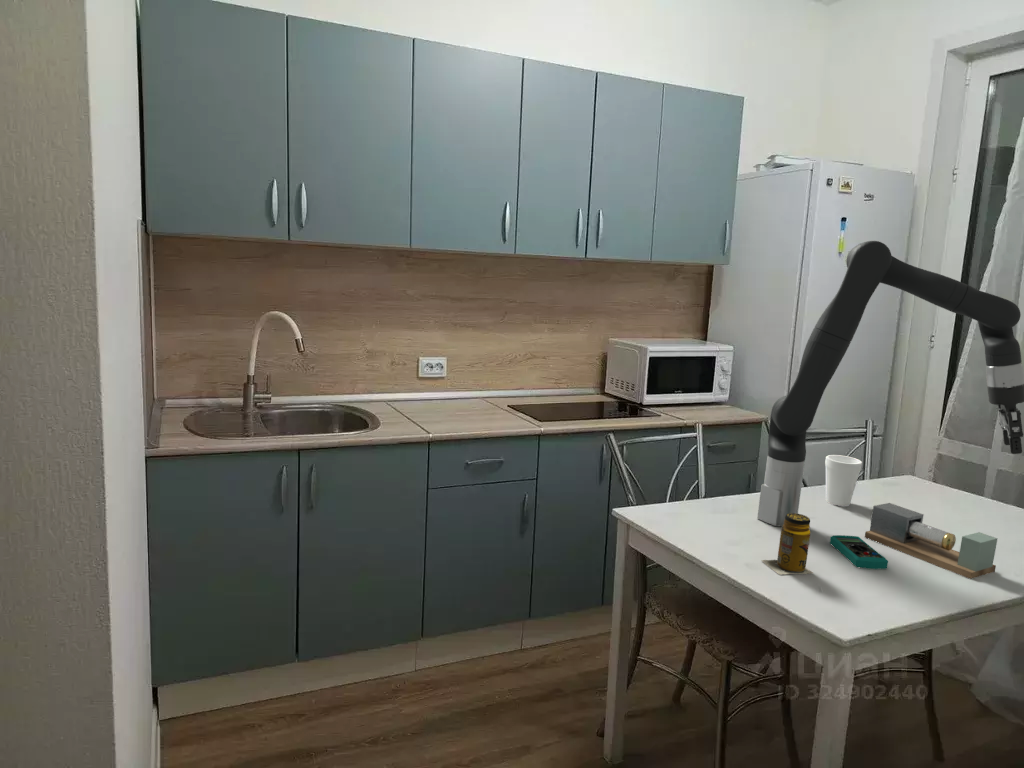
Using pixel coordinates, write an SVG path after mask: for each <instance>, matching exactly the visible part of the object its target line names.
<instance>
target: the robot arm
mask: <svg viewBox="0 0 1024 768" xmlns="http://www.w3.org/2000/svg"><path fill="white" fill-rule="evenodd" d="M845 261H846V262H845V264H846V267H847V269H846V271H845V274H844V277H843V279H842V282H841V284H840V285H839V286H840V287H839V288H838V290H837V292H836V294H835V296H833V298H832V299H831V301H830V302H829V304H828V305H827V306H826V308H825V309H824V311H822V314H821V315H820V317H819V318H818V320H817V322H816V324H815V325H814V328H813V329H812V331H811V333H810V334H809V337H808V340H807V342H806V343H805V347H804V351H803V354H802V358H801V361H800V366H799V368H798V374H797V375H796V378H795V381H794V383H793V385H792V387H791V388H790V390H789V392H788V393H787V395H783V396H781V397H779V398H778V399H777V400H776V401H775V402H774V404H773V406H772V407H771V411H770V419H769V428H768V438H767V448H768V449H767V458H766V465H765V473H764V482H763V483H762V484H761V486H760V494H759V502H758V510H757V518H756V519H758V520H761V522H764V523H767V524H770V525H772V526H774V527H782V526H783V525H784V520H785V516H786V514H788V513H797V514H799V508H800V500H801V494H802V493H801V491H802V487H803V478H804V472H805V463H806V462H805V461H806V455H807V446H806V444H807V443H806V437H807V431H808V430H809V428H811V426H812V424H813V421H814V419H815V415H816V413H817V410H818V407H819V404H820V402H821V399H822V398H823V397H822V396H823V395H824V392H825V390H826V388H827V387H828V385H829V383H830V382H831V379H832V378H833V376H834V375H835V373H836V371H837V370H838V368H839V366H840V364H841V362H842V360H843V358H844V357H845V355H846V353H847V351H848V349H849V347H850V344H851V343H852V341H853V338H854V336H855V334H856V332H857V329H858V327H859V325H860V323H861V320H862V318H863V315H864V313H865V309H866V307H867V305H868V303H869V301H870V300H871V297H872V296H873V295H874V292H875V291H876V290H877V287H878V286H879V285H880V284H883V285H887V286H890V287H892V288H896V289H899V290H902V291H904V292H906V293H909V294H911V295H913V296H915V297H916V298H920V299H921V300H924V301H925V302H928V303H930V304H932V305H935V306H937V307H939V308H942V309H943V310H946V311H949V312H951V313H953V314H957V315H960V316H964V317H965V316H966V317H968V318H970V319H972V320H974V321H976V322H977V324H978V329H979V333H980V337H981V340H982V343H983V347H984V357H985V358H984V359H985V365H986V366H985V368H986V369H985V372H986V373H985V377H986V386H987V395H988V402H989V404H992V405H997V414H998V421H999V423H998V425H1000V429H1001V430H1002V437H1003V444H1004V445H1005V446H1009V450H1010V453H1011V454H1013V455H1016V454H1017V455H1019V454H1022V453H1023V447H1022V446H1023V444H1022V438H1023V437H1024V432H1023V425H1022V417H1021V416H1022V413H1021V410H1019V409H1018V407H1017V405H1018V404H1023V403H1024V367H1023V363H1022V354H1021V346H1020V343H1019V341H1018V340H1017V339H1016V338H1015V334H1014V330H1013V329H1014V327H1015V326H1016V325H1017V324H1018V323H1019V322H1020V319H1021V315H1022V314H1021V310H1020V307H1019V306H1018V305H1017V304H1015V302H1013V301H1011V300H1009V299H1006V298H1003V297H1001V296H998V295H996V294H992V293H988V292H986V291H982V290H980V289H977V288H975V287H973V286H971V285H969V284H966V283H964V282H962V281H959V280H956V279H954V278H952V277H949V276H945V275H943V274H939V273H937V272H935V271H934V272H933V271H930V270H927V269H923V268H921V267H920V268H919V267H917V266H914V265H911V264H909V263H907V262H905V261H902V260H901V259H898V258H896V257H895V256H893V255H892V252H891V250H890V248H889V247H888V246H887V245H886V244H885V243H883V242H882V241H878V240H868V241H864V242H861V243H858V244H856V245H855V246H854V247H853V248H851V249H850V250H849V252H848V254H847V256H846V260H845ZM1016 430H1017V431H1016Z"/></svg>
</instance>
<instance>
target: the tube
mask: <svg viewBox="0 0 1024 768" xmlns="http://www.w3.org/2000/svg"><path fill="white" fill-rule="evenodd" d="M870 516H871V517H870V520H871V519H872V514H871V515H870ZM907 535H908V536H910V537H913V538H916V539H918V540H921V541H924V542H927V543H929V544H932V545H935V546H937V547H940V548H943V549H945V550H948V551H949V550H951V549H952V550H953V548H954V547H955V544H956V542H957V541H956V539H957V538H956V535H955V533H954V534H953V533H951V532H948V531H945V530H942V529H939V528H937V527H933V526H931V525H928V524H925V523H923V522H922V523H920V522H917V521H914V520H910V521H909V525H908V531H907Z"/></svg>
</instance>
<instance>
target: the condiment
mask: <svg viewBox="0 0 1024 768" xmlns="http://www.w3.org/2000/svg"><path fill="white" fill-rule="evenodd" d="M810 525H811V519H810V517H808V516H807V515H804V514H800V513H798V514H797V513H788V514H786V516H785V520H784V525H783V526H781V528H780V537H779V544H778V550H777V551H778V552H777V559H761V562H763V564H764V565H766V566H767V567H768V568H769V569H770V570H772V571H774V572H775V573H777V574H778V575H779V576H781V575H808V574H809V575H810V574H814V572H813V571H812V570H810V569H808V568H807V567H806V566H807V560H808V554H809V547H810V546H809V545H810V539H811V538H810V537H811V530H810V528H811V527H810Z"/></svg>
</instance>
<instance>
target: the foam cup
mask: <svg viewBox="0 0 1024 768" xmlns="http://www.w3.org/2000/svg"><path fill="white" fill-rule="evenodd" d="M824 465H825V501H827V502H828V504H829V503H830V505H832V504H833V506H836V505H838V506H837V507H849V506H850V504H851V502H852V500H853V499H852V498H853V495H854V491H855V489H856V484H857V482H858V480H859V479H858V478H859V475H860V471H862V465H863V461H861V460H860V459H857V458H855V457H852V456H848V455H840V454H829V455H827V456H825V461H824ZM827 502H826V503H827Z"/></svg>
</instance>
